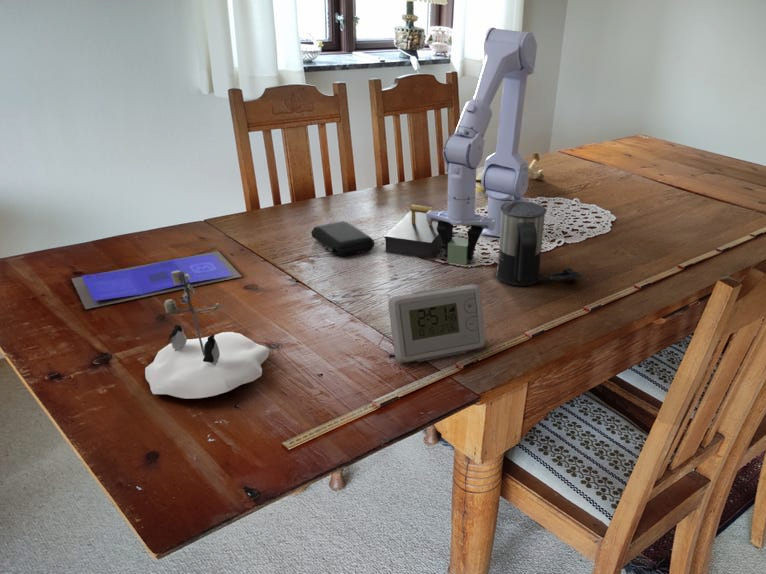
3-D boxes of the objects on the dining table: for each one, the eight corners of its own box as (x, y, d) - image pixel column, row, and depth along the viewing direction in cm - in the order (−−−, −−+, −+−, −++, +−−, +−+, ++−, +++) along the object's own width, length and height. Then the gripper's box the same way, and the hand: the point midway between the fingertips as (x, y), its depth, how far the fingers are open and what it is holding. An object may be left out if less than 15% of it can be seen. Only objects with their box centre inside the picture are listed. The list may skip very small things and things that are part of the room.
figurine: (289, 377, 105) (272, 277, 97) (164, 416, 95) (134, 309, 88) (246, 333, 119) (228, 243, 112) (134, 364, 110) (106, 267, 103)
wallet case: (431, 258, 148) (431, 244, 147) (385, 252, 150) (385, 237, 149) (452, 233, 162) (452, 219, 160) (410, 227, 164) (409, 213, 162)
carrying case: (304, 238, 155) (334, 261, 145) (302, 225, 153) (333, 247, 143) (346, 229, 160) (378, 251, 151) (345, 217, 159) (378, 238, 149)
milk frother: (488, 270, 144) (492, 202, 137) (554, 261, 150) (561, 195, 142) (518, 300, 134) (524, 227, 126) (587, 289, 139) (597, 219, 131)
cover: (431, 245, 146) (431, 224, 144) (384, 238, 148) (383, 217, 146) (453, 219, 160) (453, 199, 158) (409, 213, 162) (409, 193, 160)
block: (471, 257, 150) (472, 239, 148) (466, 264, 147) (466, 246, 145) (452, 254, 151) (453, 236, 149) (447, 262, 148) (447, 243, 145)
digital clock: (392, 367, 110) (391, 309, 105) (386, 340, 118) (384, 284, 112) (490, 359, 114) (493, 302, 108) (478, 333, 121) (481, 278, 116)
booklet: (233, 275, 136) (232, 272, 136) (94, 304, 124) (93, 301, 123) (213, 254, 145) (213, 251, 144) (82, 278, 132) (81, 275, 132)
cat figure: (523, 177, 206) (463, 186, 190) (527, 148, 202) (466, 154, 186) (548, 186, 201) (489, 195, 184) (552, 155, 196) (492, 162, 180)
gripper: (421, 197, 140) (421, 259, 147) (491, 206, 137) (487, 268, 144) (432, 187, 145) (431, 247, 152) (499, 195, 143) (495, 256, 150)
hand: (459, 256), depth 149 cm, fingers closed on block, 4 cm apart
